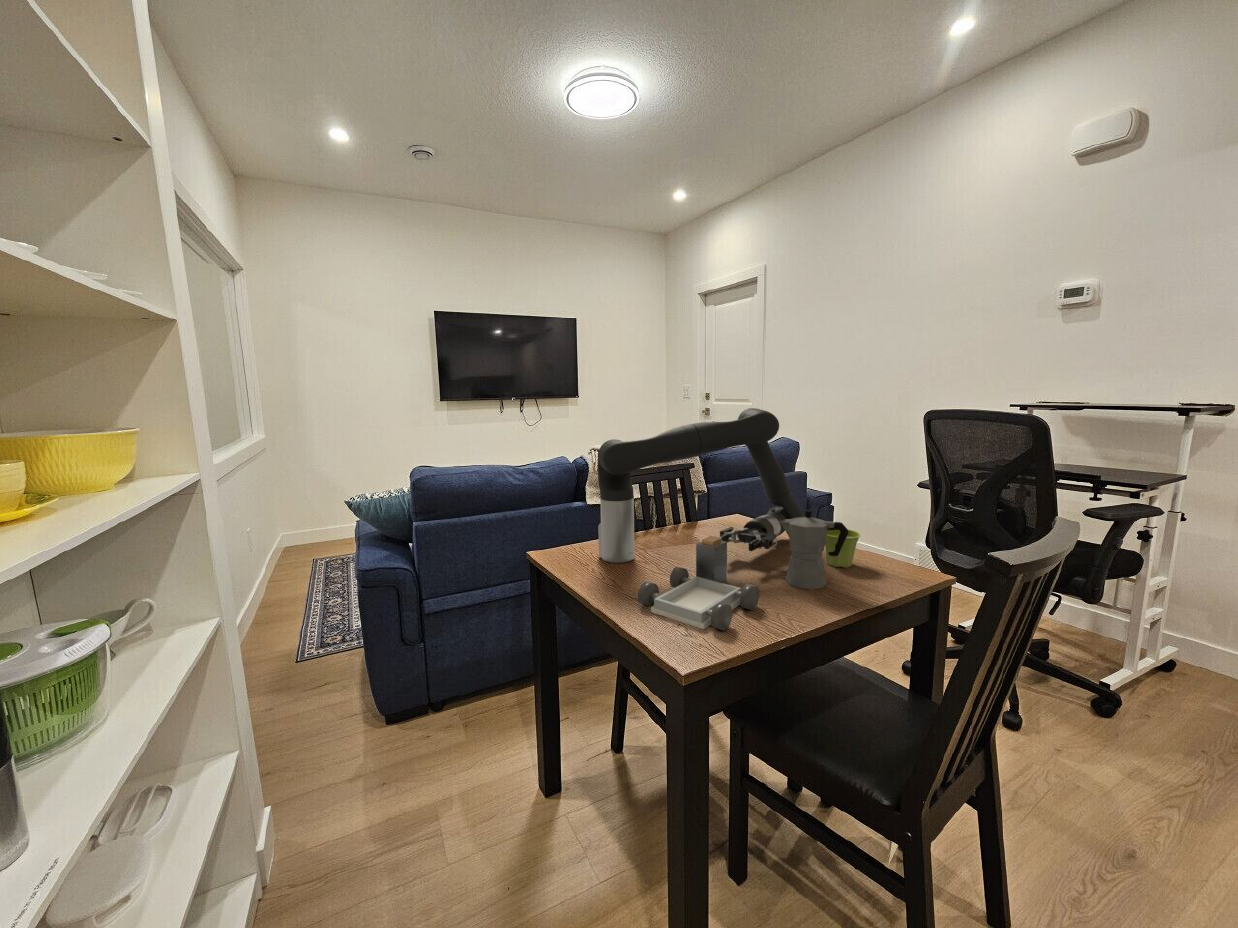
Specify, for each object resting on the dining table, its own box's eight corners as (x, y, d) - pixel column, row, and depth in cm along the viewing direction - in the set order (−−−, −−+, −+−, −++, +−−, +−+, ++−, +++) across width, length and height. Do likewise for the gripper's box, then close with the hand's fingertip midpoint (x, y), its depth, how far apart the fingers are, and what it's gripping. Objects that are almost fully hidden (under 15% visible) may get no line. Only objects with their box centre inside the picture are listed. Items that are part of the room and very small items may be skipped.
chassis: (638, 607, 111) (637, 585, 111) (681, 584, 124) (681, 564, 123) (719, 634, 98) (719, 609, 98) (759, 605, 111) (759, 583, 110)
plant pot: (834, 556, 143) (835, 525, 141) (866, 565, 135) (868, 533, 133) (812, 562, 138) (814, 531, 136) (844, 572, 130) (846, 539, 128)
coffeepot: (774, 585, 122) (776, 511, 120) (780, 572, 131) (782, 503, 128) (845, 595, 116) (848, 517, 113) (846, 581, 124) (849, 508, 122)
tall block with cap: (696, 583, 124) (696, 539, 123) (708, 576, 129) (709, 534, 127) (714, 588, 121) (714, 543, 120) (726, 581, 126) (727, 537, 124)
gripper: (739, 513, 149) (710, 526, 136) (787, 520, 139) (760, 534, 127) (739, 538, 150) (710, 553, 138) (786, 547, 141) (760, 563, 128)
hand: (734, 544), depth 132 cm, fingers open, 8 cm apart
